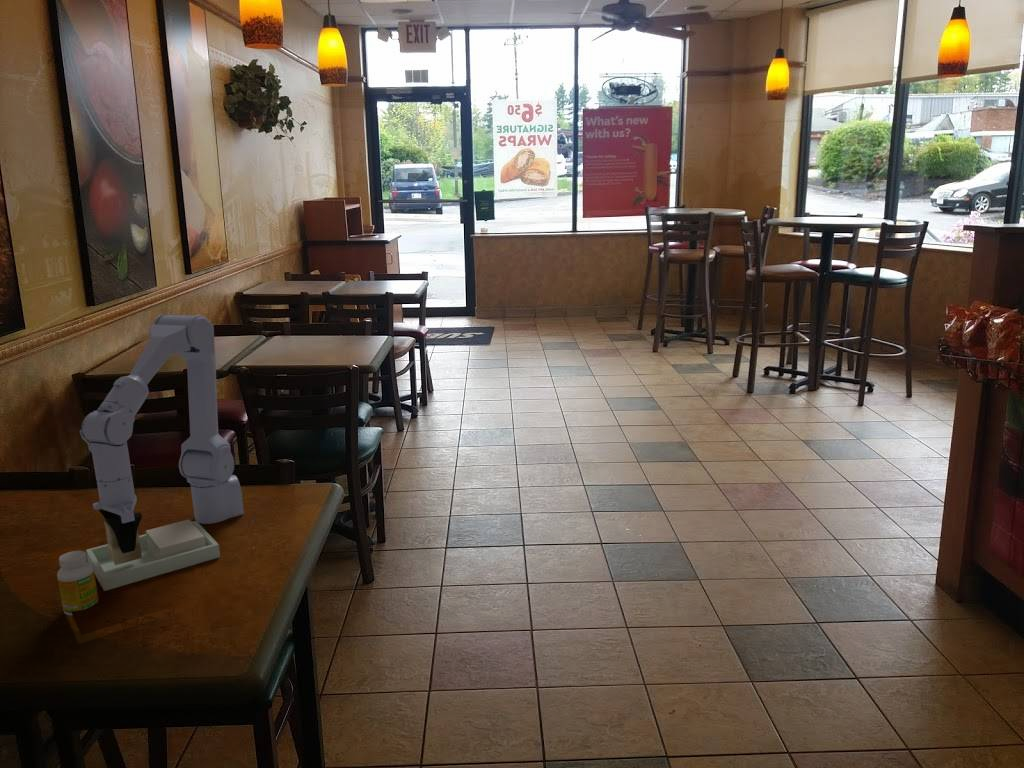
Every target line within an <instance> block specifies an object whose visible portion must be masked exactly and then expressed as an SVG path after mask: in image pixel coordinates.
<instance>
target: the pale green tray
mask: <svg viewBox="0 0 1024 768" xmlns="http://www.w3.org/2000/svg"><path fill="white" fill-rule="evenodd" d="M191 522H192V523H193V524H194V525H195V527H196V528H197V529H198V530H199V531H200V532H201V533H202V534H203V535H204V536H205V543H206V546H205V547H202V548H198V549H195V550H191V551H187V552H184V553H180V554H177V555H173V556H170V557H166V558H163V559H159V560H156V559H155V558H154V556H153V555H152V554H151V552H150V551H149V549H148V542H147V536H146V533H145V534H142V535H141V534H140V535H139V541H140V547H141V554H142V558H140V559H136V560H133V561H129V562H126V563H122V564H118V565H115V564H114V562H113V560H112V559H111V557H110V553H109V547H108V543H106V544H102V545H98V546H95V547H91V548H88V549H85V553H86V557H87V562H88V563H90V564H91V565H92V566H93V569H94V575H95V578H96V579H97V580H98V583H99V584H100V586H101V588H102V589H103V591H104V592H107V591H110V590H112V589H116V588H119V587H123V586H127V585H129V584H133V583H137V582H139V581H143V580H146V579H150V578H153V577H157V576H160V575H163V574H166V573H167V574H168V573H171V572H174V571H177V570H180V569H181V570H182V569H184V568H188V567H191V566H195V565H197V564H200V563H201V564H202V563H204V562H208V561H211V560H215V559H219V558H221V554H220V553H221V552H220V545H219V542H217V541H216V540H215V539H214V538H213V537H212V536H211V535H210V534H209V533H208V532H207V531H206V529H204V527H203V525H201V523H198V522H197V521H196V520H194V521H191Z"/></svg>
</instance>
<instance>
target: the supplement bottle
mask: <svg viewBox="0 0 1024 768" xmlns="http://www.w3.org/2000/svg"><path fill="white" fill-rule="evenodd" d="M58 561H59V566H60V569H59V570H58V571H57V573H56V577H57V583H58V589H59V593H60V600H61V604H62V605H61V606H62V611H63V613H64V614H65V615H67V616H70V617H71V616H72V617H73V613H72V612H81V611H83V610H88V609H89V608H91V607H93V606H94V605H97V603H98V602H99V593H98V587H97V582H96V581H97V580H96V575H95V574H94V569H93V566H92V565H91V564H90V563H88V558H87V553H86V551H83V550H73V551H69V552H66V553H64V554H62V555H60V556H59V557H58Z"/></svg>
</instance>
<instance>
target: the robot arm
mask: <svg viewBox="0 0 1024 768" xmlns="http://www.w3.org/2000/svg"><path fill="white" fill-rule="evenodd" d="M214 327H215V326H214V324H213V323H212V322H211V321H210V320H209V319H208V318H207V317H206V316H204V315H201V314H197V315H182V314H181V315H180V314H178V315H177V314H167V313H162V314H159V315H158V316H156V318H155V319H154V322H153V324H152V325H151V326H150V327H149V329H148V334H149V335H148V336H149V340H148V341H147V343H146V345H145V347H144V348H143V350H142V352H141V354H140V355H139V357H138V359H137V361H136V363H135V364H134V366H133V368H132V370H131V371H130V373H129V375H125V376H120V377H119V378H118V379H116V380H115V381H114V382H113V384H112V385H113V387H112V388H111V389H110V391H109V392H108V393H107V395H106V397H105V398H104V400H103V401H102V402H101V404H100V405H99V407H98V408H97V410H93V411H92V412H90V413H88V414H87V415H86V416H85V417H84V418H83V421H82V423H81V429H80V430H79V434H80V437H81V438H82V440H83V441H84V442H85V443H87V447H88V451H90V453H91V456H92V461H93V467H94V474H95V480H96V484H97V492H98V497H99V501H97V502H95V503H92V508H93V509H94V510H95V511H99V513H100V514H101V515H102V516H103V518H104V520H105V521H106V522H107V523H108V524H109V526H110V527H111V528H112V529H113V531H114V533H115V536H116V538H117V541H118V544H119V547H120V549H121V551H122V553H127V552H131V551H134V550H135V547H136V536H137V529H138V530H139V526H140V522H141V521H142V519H143V515H142V513H141V511H140V512H139V511H137V512H135V511H134V509H135V507H136V504H137V502H138V501H137V500H138V499H137V495H136V494H135V486H134V480H133V474H132V468H131V467H132V466H131V462H130V461H131V460H130V454H129V446H128V441H129V439H130V438H131V437H132V435H133V430H134V422H135V418H136V414H137V413H138V412H139V410H140V409H141V407H142V405H143V404H144V403H145V401H146V399H147V398H148V396H149V394H150V390H149V387H148V384H149V383H150V382H151V380H152V379H153V378H154V376H155V375H156V374H157V373H158V371H160V369H161V368H162V366H163V365H164V364H165V363H166V361H167V360H168V358H169V357H170V356H171V355H175V354H179V355H180V356H181V357H182V358H183V359H185V361H186V368H187V371H186V373H187V392H188V393H187V395H188V414H189V435H190V436H189V437H188V438H187V439H186V440H185V441H184V442H183V443H182V444H181V445H180V447H181V448H180V449H181V451H180V452H181V453H180V457H179V461H178V469H179V473H180V474H181V476H182V477H183V478H186V482H187V483H189V485H190V492H191V499H192V507H193V514H194V519H195V520H194V521H197V522H198V523H199V524H203V525H204V524H205V525H207V524H208V525H209V524H217V523H220V522H223V521H226V520H228V519H231V518H235V517H238V516H242V515H245V510H244V504H243V503H244V502H243V494H242V487H241V485H240V481H239V479H238V477H237V475H235V474H233V473H234V470H235V460H234V455H233V454H232V452H231V451H232V450H231V444H230V443H229V442H228V441H227V440H226V439H225V438H223V437H222V436H221V435H220V434H219V421H218V420H219V417H218V415H219V414H218V395H217V394H218V393H217V392H218V391H217V368H216V367H217V366H216V349H215V328H214ZM134 512H135V513H134Z"/></svg>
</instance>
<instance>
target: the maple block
mask: <svg viewBox="0 0 1024 768" xmlns="http://www.w3.org/2000/svg"><path fill="white" fill-rule="evenodd" d="M104 528H105V534H106V541H107V544H108V547H109V553H110V557H111V559H112V560H113V562H114V564H115V565H118V564H122V563H126V562H129V561H133V560H136V559H140V558H142V554H141V547H140V541H139V536H140V535H139V528H138V529H137V536H136V547H135V550H134V551H131V552H127V553H122V551H121V549H120V547H119V544H118V541H117V538H116V536H115V533H114V531H113V529H112V528H111V527H110V526H109V524H108V523H107V522H106V520H104Z"/></svg>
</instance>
